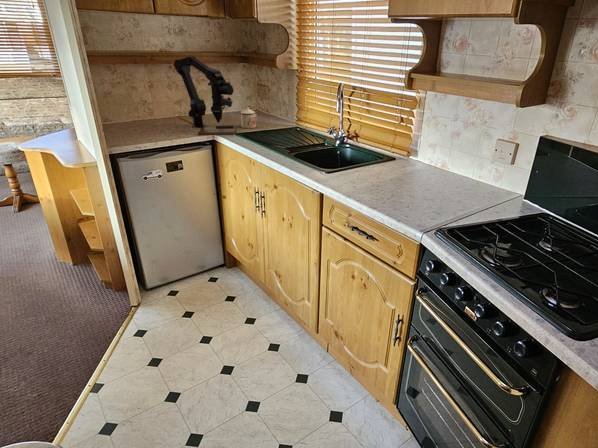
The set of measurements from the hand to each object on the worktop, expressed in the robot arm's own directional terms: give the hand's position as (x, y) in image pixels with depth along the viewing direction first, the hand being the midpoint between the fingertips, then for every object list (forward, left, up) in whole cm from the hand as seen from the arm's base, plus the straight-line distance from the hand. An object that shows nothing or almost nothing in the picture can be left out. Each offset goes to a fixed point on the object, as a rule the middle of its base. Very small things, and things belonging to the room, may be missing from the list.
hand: (219, 121), depth 241 cm
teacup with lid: (-6, +18, -5) cm, 19 cm away
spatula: (0, -1, -5) cm, 5 cm away
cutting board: (+11, 0, -5) cm, 12 cm away
